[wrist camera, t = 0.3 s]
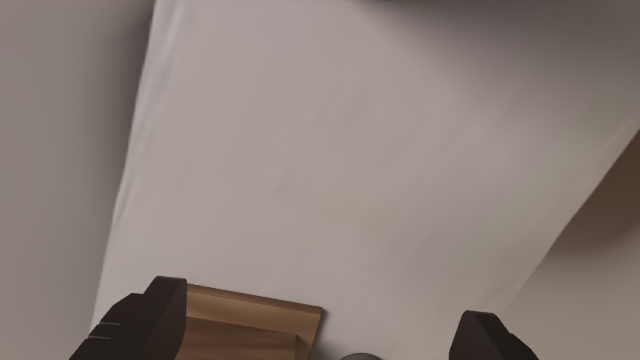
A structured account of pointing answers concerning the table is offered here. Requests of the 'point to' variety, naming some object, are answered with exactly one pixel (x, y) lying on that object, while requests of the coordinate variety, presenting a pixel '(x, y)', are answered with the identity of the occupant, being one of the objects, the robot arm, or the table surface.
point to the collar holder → (245, 327)
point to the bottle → (360, 357)
